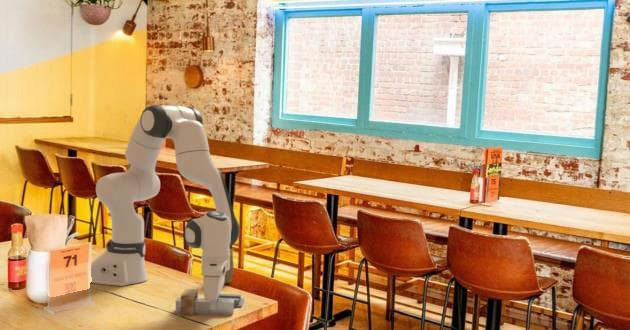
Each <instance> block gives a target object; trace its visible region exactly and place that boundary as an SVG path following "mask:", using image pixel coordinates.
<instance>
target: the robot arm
mask: <svg viewBox="0 0 630 330" xmlns="http://www.w3.org/2000/svg"><path fill="white" fill-rule="evenodd" d="M203 120H204V119H203V116H202V113H201V112H200V111H199V110H198V109H197V108H194V107H191V106H183V105H177V104H169V105H168V104H167V105H166V104H165V105H160V104H154V105H149V106H147V107H145V108H144V110H142V113H141V115H140V117H139V119H138V120H137V122H136V124H135V127H134V128H133V131H132V134H131V136H130V139H129V141H128V143H127V146H126V148H125V151H124V156H125V159H126V161H127V162H128V164H130V167H129V169H128V170H127V171H123V172H113V173H110V174H107V175H104V176H102V177H100V178H99V179H98V180H97V181H96V185H95V193H96V197H97V198H98V201H100V202H101V203H102V204H104V206H105V207H106V208H107V210H108V212H109V215H110V219H111V238H110V239H108V241H107V242H106V243H105V249H106V250H105V251H104V252H102V253H101V254H100V255H99V256H97V257H96V258H94V259H93V261H92V262H91V264H90V266H91V277H92V283H91V284H97V285H98V284H99V285H106V286H107V285H111V286H116V287H123V286H127V285H132V284H140V283H143V282H145V281H147V280H148V278H149V276H148V274H147V270H146V263H145V255H146V240H145V220H144V218H143V216H142V215H141V214H139V213H137V212H136V210H135V206H134V203H135V202H142V201H146V200H149V199H152V198H154V197H156V196H157V195H158V194H159V192H160V189H161V180H160V178H159V176H158V174H157V173H156V164H157V161H158V159H159V156H160V153H161V150H162V147H163V146H164V142H165V140H166V139H171V140H172V141H173V143H174V152H175V153H174V154H175V161H176V162H175V163H176V167H177V170H178V172H179V174H180V175H181V176H182V177H183V178H185V179H186V180H188V181H189V182H192V183H194V184H198V185H201V186H203V187H205V188H206V189H207V190H209V192H210V194H211V196H212V199H213V204H214V207H215V210H211V211H210V210H209V211H207V212H205V214H204V215H203V216H201V217H198V218H194V219H190V220H189V221H188V222H187V223H186V225H185V227H184V232H183V234H184V236H183V237H184V241H185V243H186V244H187V246H189V247H190V248H193V249H201V250H202V253H201V266H200V267H201V273H200V274H201V276H203V280H202V281H203V297H204V298H205V300H206V301H210V309H211V310H215V309H216V300H217V299H219V295H220V294H221V291H222V289H223V287H224V285H225V284H224V281H225V274H226V271H228V270H229V269H230V251H229V246H230V247H232V246H234V245H235V243H236V242H237V241H238V239H239V238H240V236H241V227H240V224H239V221H238V220H237V219H238V218H236V215H235V212H234V209H233V204H232V202H231V199H230V195H229V191H228V188H227V184H226V181H225V179H224V178H225V177H224V175H223V173H222V171H221V170H220V168H218V167H216V165H215V164H214V162H213V160H212V157H211V153H210V146H209V140H208V136H207V132H206V130H205V127H204V124H203V123H204V121H203Z"/></svg>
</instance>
